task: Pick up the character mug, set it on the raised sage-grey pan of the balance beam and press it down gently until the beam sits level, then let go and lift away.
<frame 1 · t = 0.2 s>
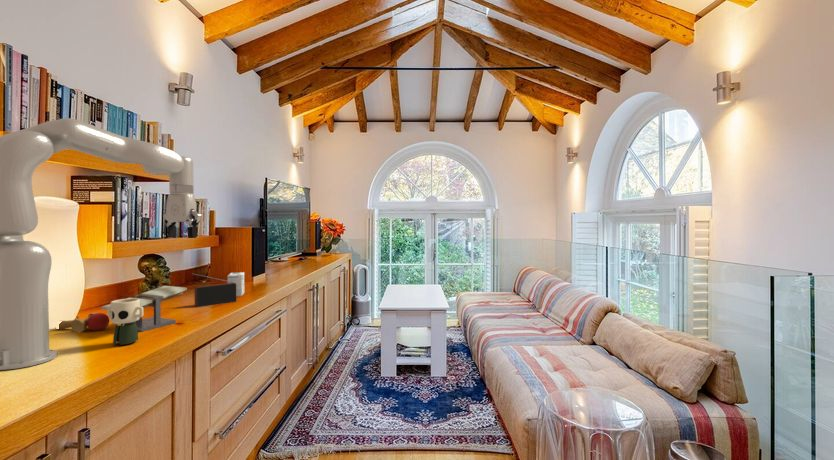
hand: (182, 237, 142), 31 cm above the table, tool pointing down, fingers open, 9 cm apart
kendama: (81, 330, 133), on the table
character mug: (125, 344, 117), on the table
radio: (213, 304, 174), on the table
beam: (147, 301, 137), point 9 cm above the table, hinge at 10.0°
light bulb box: (236, 295, 197), on the table
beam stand: (147, 325, 138), on the table
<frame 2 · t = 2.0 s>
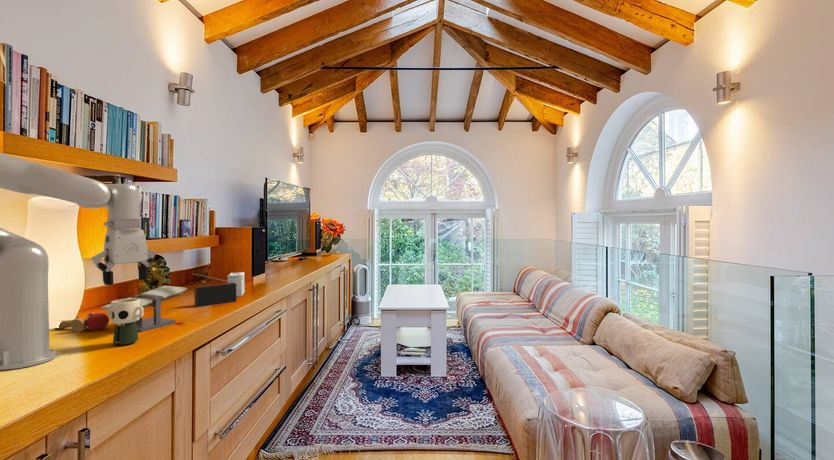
hand: (126, 282, 117), 18 cm above the table, tool pointing down, fingers open, 9 cm apart
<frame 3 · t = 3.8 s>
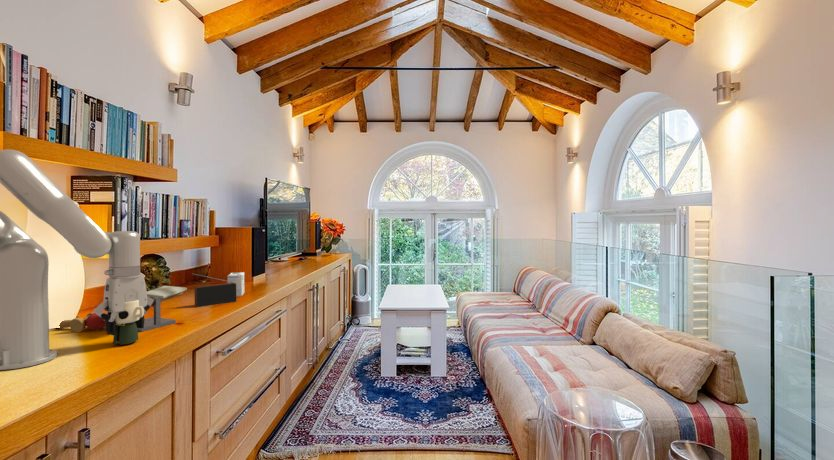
hand: (125, 330, 117), 4 cm above the table, tool pointing down, fingers closed on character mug, 7 cm apart
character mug: (125, 344, 117), on the table, touching gripper
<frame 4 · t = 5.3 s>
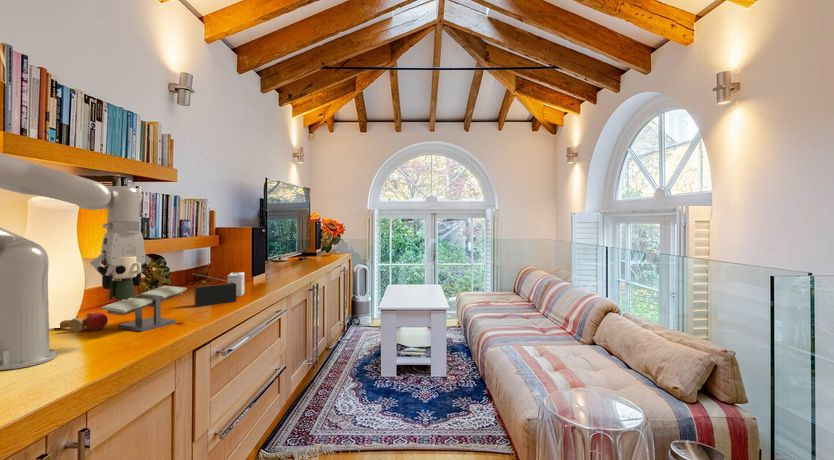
hand: (122, 286, 117), 17 cm above the table, tool pointing down, fingers closed on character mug, 7 cm apart
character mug: (121, 300, 117), point 13 cm above the table, touching gripper
everything else where it was.
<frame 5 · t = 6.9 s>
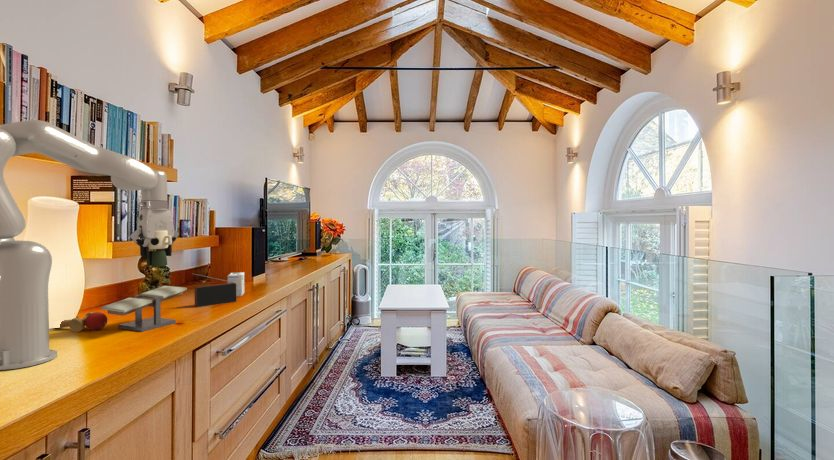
hand: (156, 256, 136), 24 cm above the table, tool pointing down, fingers closed on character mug, 7 cm apart
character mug: (157, 268, 137), point 20 cm above the table, touching gripper
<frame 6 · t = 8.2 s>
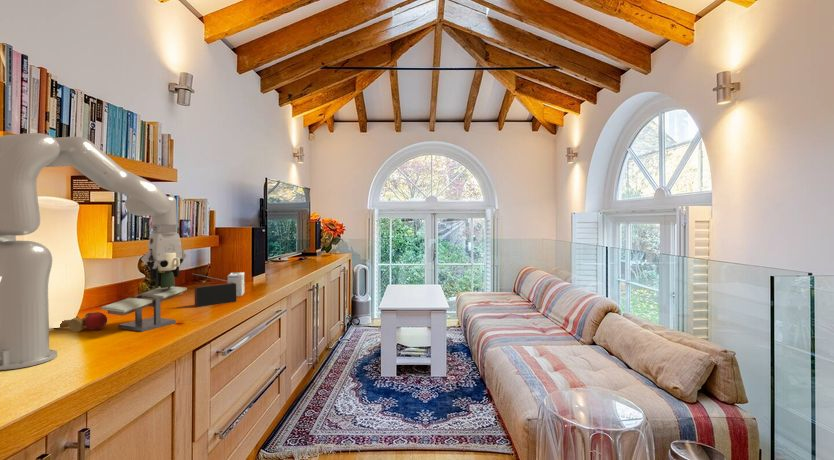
hand: (165, 277, 143), 16 cm above the table, tool pointing down, fingers closed on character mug, 7 cm apart
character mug: (165, 288, 143), point 12 cm above the table, touching gripper
when the fingers open (14 cm above the table, at t = 9.2 s): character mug stays where it is, resting on beam.
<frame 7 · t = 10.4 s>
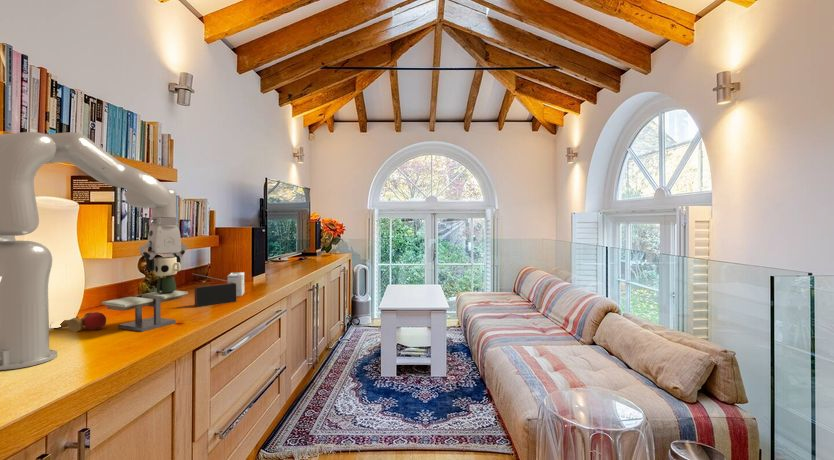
hand: (163, 269, 143), 19 cm above the table, tool pointing down, fingers open, 9 cm apart
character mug: (166, 293, 144), point 10 cm above the table, touching beam
beam: (147, 301, 138), point 9 cm above the table, hinge at 1.5°, touching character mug
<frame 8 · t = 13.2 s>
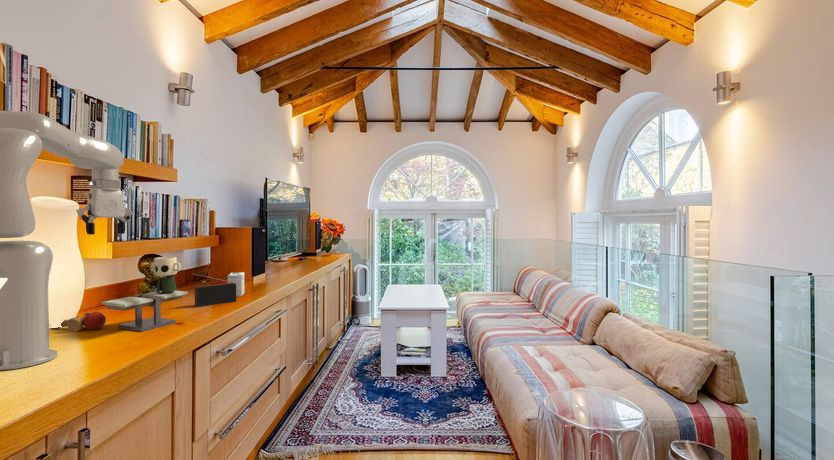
hand: (106, 234, 139), 32 cm above the table, tool pointing down, fingers open, 9 cm apart
at the end: beam at +2° (first picture: +10°); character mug inside the target area on the beam (0.4 cm from its centre), point 2.3 cm above the beam's base; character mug tilted 2° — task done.
